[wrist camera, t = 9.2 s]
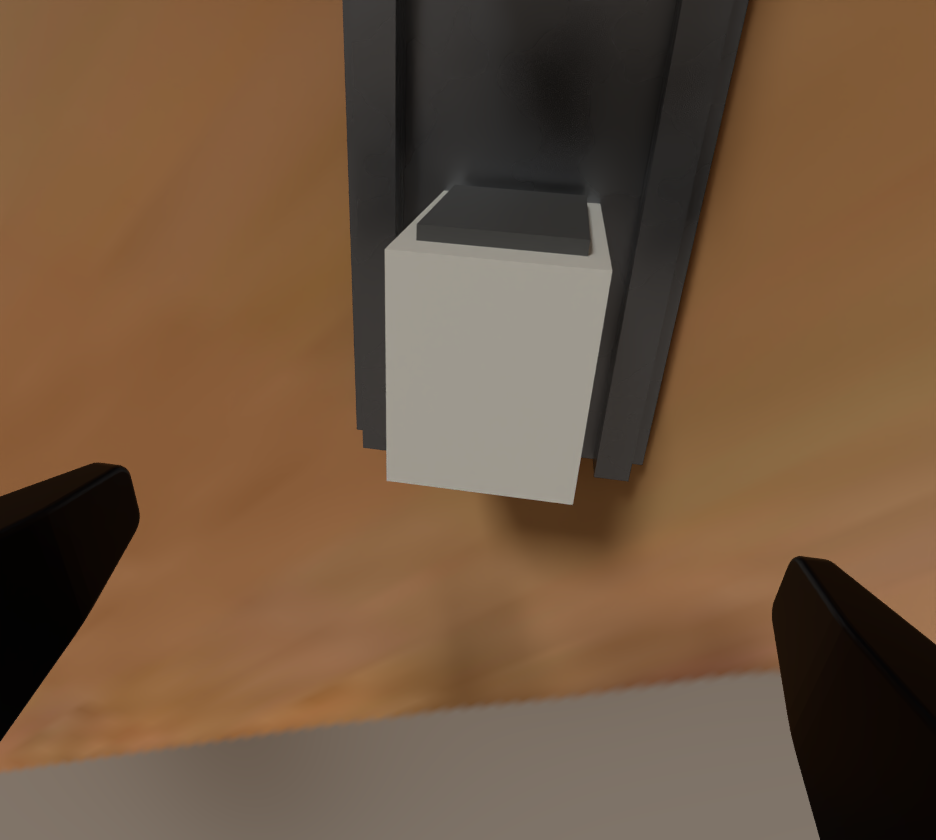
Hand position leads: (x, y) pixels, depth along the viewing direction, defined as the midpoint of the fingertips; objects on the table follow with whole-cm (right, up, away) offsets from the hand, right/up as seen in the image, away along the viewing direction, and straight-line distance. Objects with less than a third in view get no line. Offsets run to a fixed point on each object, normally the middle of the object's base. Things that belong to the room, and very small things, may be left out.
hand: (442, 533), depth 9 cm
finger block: (+2, +5, +9) cm, 10 cm away
